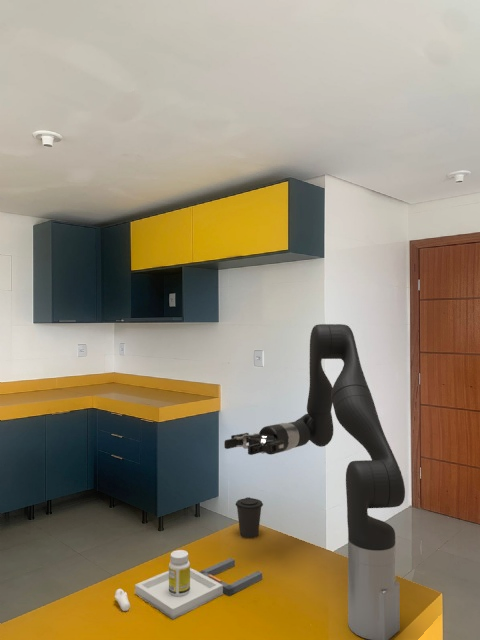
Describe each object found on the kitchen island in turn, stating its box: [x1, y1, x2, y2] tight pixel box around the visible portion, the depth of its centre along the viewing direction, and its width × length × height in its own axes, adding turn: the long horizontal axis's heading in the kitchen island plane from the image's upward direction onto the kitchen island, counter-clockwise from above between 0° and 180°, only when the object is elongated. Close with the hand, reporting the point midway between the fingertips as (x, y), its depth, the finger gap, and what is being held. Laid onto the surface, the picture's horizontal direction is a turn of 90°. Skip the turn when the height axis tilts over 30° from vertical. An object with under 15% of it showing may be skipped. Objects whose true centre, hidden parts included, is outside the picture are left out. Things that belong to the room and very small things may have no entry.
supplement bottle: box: [168, 549, 191, 596], centre depth 114 cm, size 5×5×8 cm
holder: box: [198, 557, 263, 597], centre depth 121 cm, size 11×11×2 cm
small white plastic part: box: [114, 588, 131, 612], centre depth 109 cm, size 4×6×3 cm, turn 6°
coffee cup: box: [235, 497, 264, 539], centre depth 147 cm, size 8×8×10 cm
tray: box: [134, 567, 224, 620], centre depth 114 cm, size 14×14×2 cm
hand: (236, 447), depth 127 cm, fingers open, 8 cm apart
